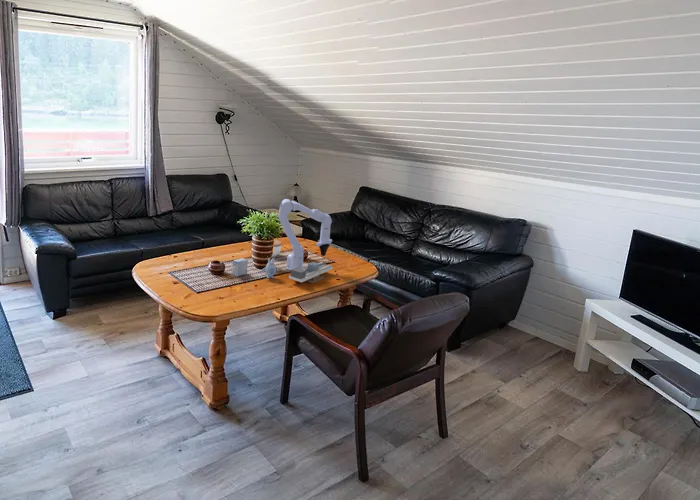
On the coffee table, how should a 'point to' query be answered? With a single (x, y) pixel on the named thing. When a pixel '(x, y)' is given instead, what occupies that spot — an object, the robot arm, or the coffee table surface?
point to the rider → (313, 266)
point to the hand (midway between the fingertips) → (323, 255)
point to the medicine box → (239, 267)
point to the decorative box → (276, 247)
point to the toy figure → (270, 268)
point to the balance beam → (309, 273)
